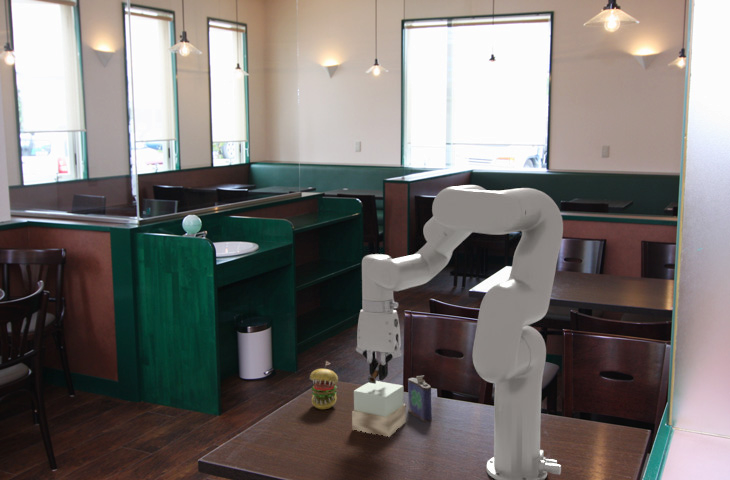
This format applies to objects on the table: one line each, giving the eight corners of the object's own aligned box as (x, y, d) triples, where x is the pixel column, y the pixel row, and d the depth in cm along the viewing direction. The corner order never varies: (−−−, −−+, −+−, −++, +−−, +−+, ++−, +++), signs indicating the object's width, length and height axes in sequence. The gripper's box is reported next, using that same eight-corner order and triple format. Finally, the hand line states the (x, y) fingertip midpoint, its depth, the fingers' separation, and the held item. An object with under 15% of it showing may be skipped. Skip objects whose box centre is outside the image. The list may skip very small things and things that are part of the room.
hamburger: (306, 409, 185) (304, 366, 183) (315, 400, 192) (314, 358, 190) (333, 412, 182) (332, 368, 181) (342, 402, 189) (341, 360, 188)
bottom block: (405, 423, 176) (405, 404, 175) (389, 438, 167) (389, 418, 166) (370, 417, 180) (369, 398, 179) (352, 431, 171) (351, 412, 170)
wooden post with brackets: (391, 370, 175) (387, 356, 173) (377, 391, 170) (373, 377, 167) (384, 369, 176) (381, 355, 174) (371, 390, 170) (367, 376, 168)
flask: (406, 411, 183) (406, 371, 181) (415, 408, 184) (415, 369, 183) (425, 423, 175) (425, 381, 173) (435, 420, 176) (435, 379, 175)
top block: (403, 404, 174) (403, 385, 174) (385, 417, 167) (385, 396, 166) (372, 398, 179) (372, 380, 178) (354, 410, 171) (353, 390, 171)
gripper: (413, 304, 169) (413, 377, 172) (355, 299, 176) (357, 369, 179) (401, 311, 163) (402, 387, 165) (342, 305, 169) (343, 378, 172)
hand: (378, 377), depth 172 cm, fingers closed on wooden post with brackets, 1 cm apart
